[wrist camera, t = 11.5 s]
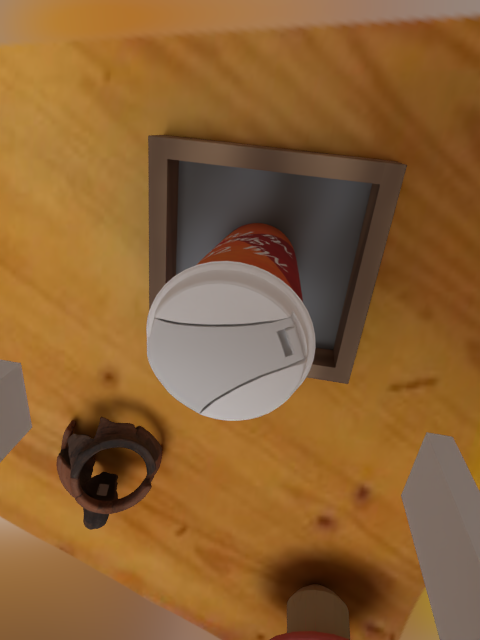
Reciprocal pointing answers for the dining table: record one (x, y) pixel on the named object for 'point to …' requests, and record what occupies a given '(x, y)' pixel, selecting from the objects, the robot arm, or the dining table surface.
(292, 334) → the paper cup
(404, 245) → the dining table surface
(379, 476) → the dining table surface
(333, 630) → the decorative mushroom
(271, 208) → the tray
